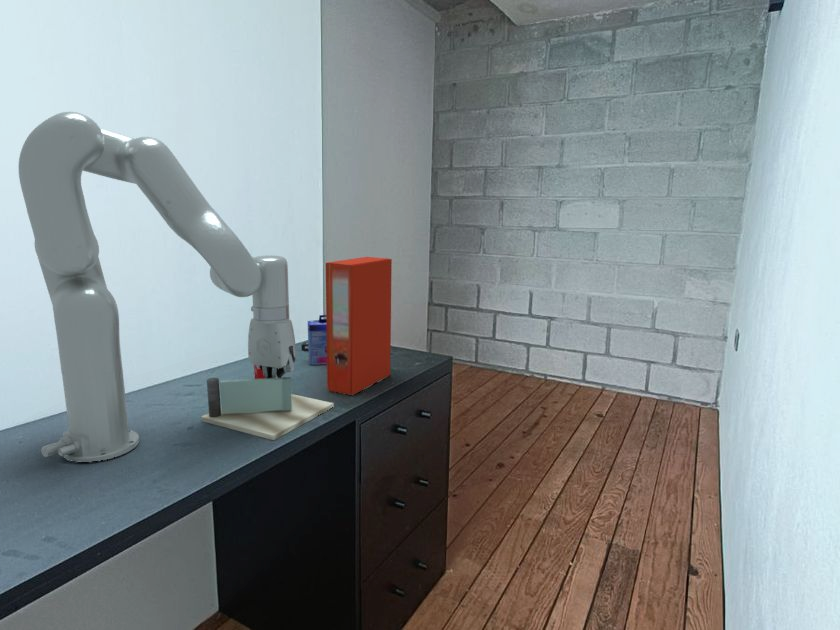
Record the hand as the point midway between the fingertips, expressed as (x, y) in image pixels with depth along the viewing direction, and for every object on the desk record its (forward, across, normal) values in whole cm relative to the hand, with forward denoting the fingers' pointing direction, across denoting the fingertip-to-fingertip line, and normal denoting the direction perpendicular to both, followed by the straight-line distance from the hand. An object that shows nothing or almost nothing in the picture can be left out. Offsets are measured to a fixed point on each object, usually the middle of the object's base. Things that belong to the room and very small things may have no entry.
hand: (274, 393), depth 121 cm
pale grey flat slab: (+3, -1, -4) cm, 5 cm away
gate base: (+4, 0, -2) cm, 5 cm away
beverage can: (+4, -16, +14) cm, 22 cm away
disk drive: (+5, -22, +50) cm, 55 cm away
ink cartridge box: (+4, -12, +36) cm, 38 cm away
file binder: (+4, +7, +25) cm, 26 cm away
